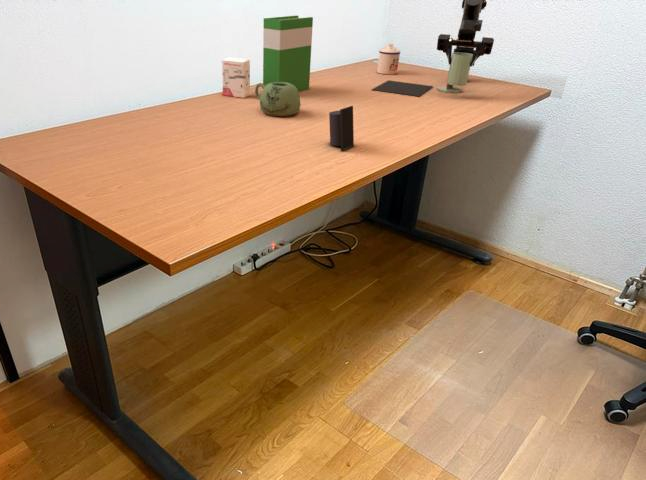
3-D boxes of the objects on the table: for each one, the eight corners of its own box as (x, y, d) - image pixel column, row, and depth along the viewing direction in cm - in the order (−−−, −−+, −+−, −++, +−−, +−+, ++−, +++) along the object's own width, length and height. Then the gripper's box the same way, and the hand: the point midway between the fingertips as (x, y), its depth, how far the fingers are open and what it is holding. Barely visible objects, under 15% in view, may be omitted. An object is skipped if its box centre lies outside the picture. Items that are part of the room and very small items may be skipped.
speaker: (360, 147, 130) (360, 106, 125) (342, 151, 128) (341, 109, 123) (342, 141, 136) (342, 102, 131) (325, 145, 134) (324, 105, 129)
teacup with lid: (392, 75, 214) (396, 46, 207) (372, 72, 218) (376, 43, 212) (403, 71, 222) (407, 43, 216) (384, 69, 226) (388, 41, 220)
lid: (440, 86, 198) (442, 75, 196) (462, 89, 195) (465, 77, 192) (435, 90, 191) (437, 78, 189) (458, 94, 188) (460, 81, 186)
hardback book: (293, 85, 192) (296, 15, 179) (309, 88, 188) (312, 17, 175) (263, 92, 180) (263, 18, 167) (278, 96, 176) (280, 20, 164)
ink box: (221, 95, 175) (220, 59, 169) (228, 92, 179) (227, 56, 173) (244, 98, 172) (243, 61, 166) (250, 95, 176) (250, 59, 170)
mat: (388, 81, 204) (388, 80, 204) (432, 87, 197) (432, 86, 197) (371, 90, 189) (372, 89, 189) (418, 96, 182) (419, 96, 182)
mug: (307, 111, 160) (309, 83, 155) (285, 120, 151) (286, 90, 146) (266, 103, 167) (267, 76, 162) (243, 111, 158) (243, 82, 153)
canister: (453, 80, 185) (458, 51, 179) (470, 84, 181) (476, 54, 175) (443, 83, 181) (448, 53, 175) (460, 86, 177) (466, 56, 171)
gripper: (443, 8, 174) (434, 47, 171) (500, 11, 169) (492, 52, 166) (441, 30, 184) (432, 67, 182) (494, 34, 179) (486, 72, 177)
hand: (460, 64), depth 176 cm, fingers closed on canister, 7 cm apart
